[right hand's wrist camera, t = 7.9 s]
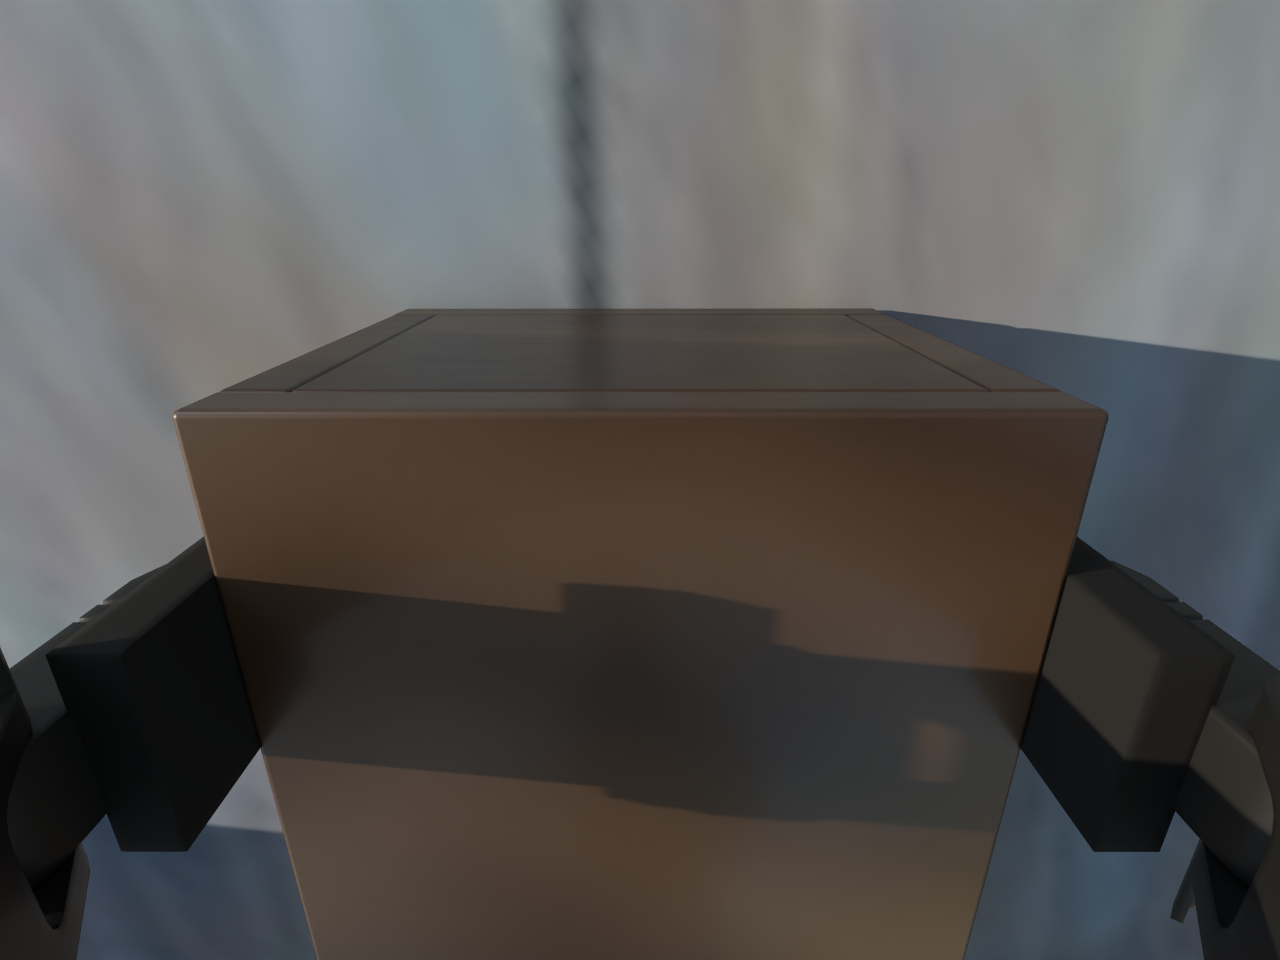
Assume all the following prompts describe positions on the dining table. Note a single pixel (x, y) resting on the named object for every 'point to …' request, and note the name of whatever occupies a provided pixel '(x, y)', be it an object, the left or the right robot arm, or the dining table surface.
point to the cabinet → (640, 626)
